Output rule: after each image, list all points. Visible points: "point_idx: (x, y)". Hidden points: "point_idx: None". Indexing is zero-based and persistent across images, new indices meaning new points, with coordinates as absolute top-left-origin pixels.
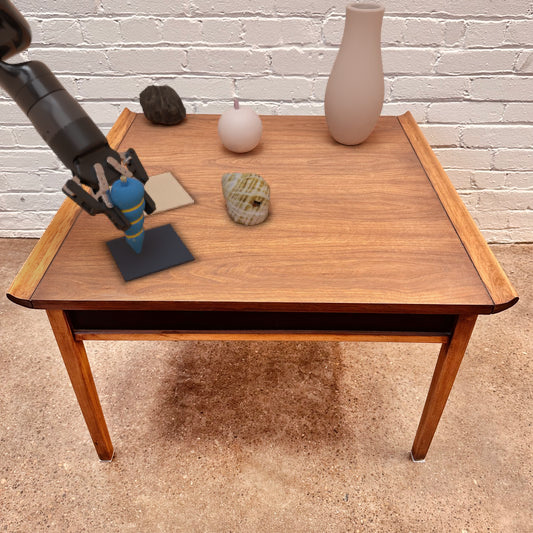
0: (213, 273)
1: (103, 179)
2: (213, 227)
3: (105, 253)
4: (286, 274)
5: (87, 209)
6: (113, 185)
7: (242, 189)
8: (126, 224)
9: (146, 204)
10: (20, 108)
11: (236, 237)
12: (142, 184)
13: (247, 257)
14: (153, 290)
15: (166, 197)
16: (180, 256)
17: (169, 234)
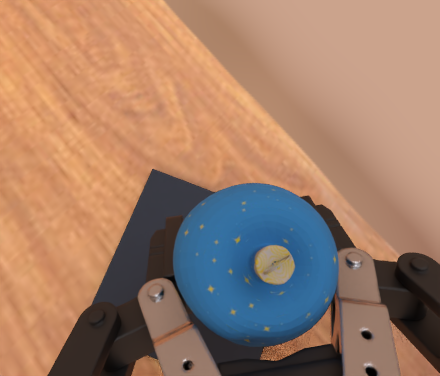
0: (162, 111)
1: (363, 362)
2: (27, 228)
3: (272, 357)
4: (78, 9)
5: (434, 320)
6: (324, 293)
7: None
8: (311, 200)
9: None
10: None
11: (31, 158)
12: (184, 223)
13: (78, 94)
14: (278, 163)
15: None
16: (167, 197)
17: (119, 286)
